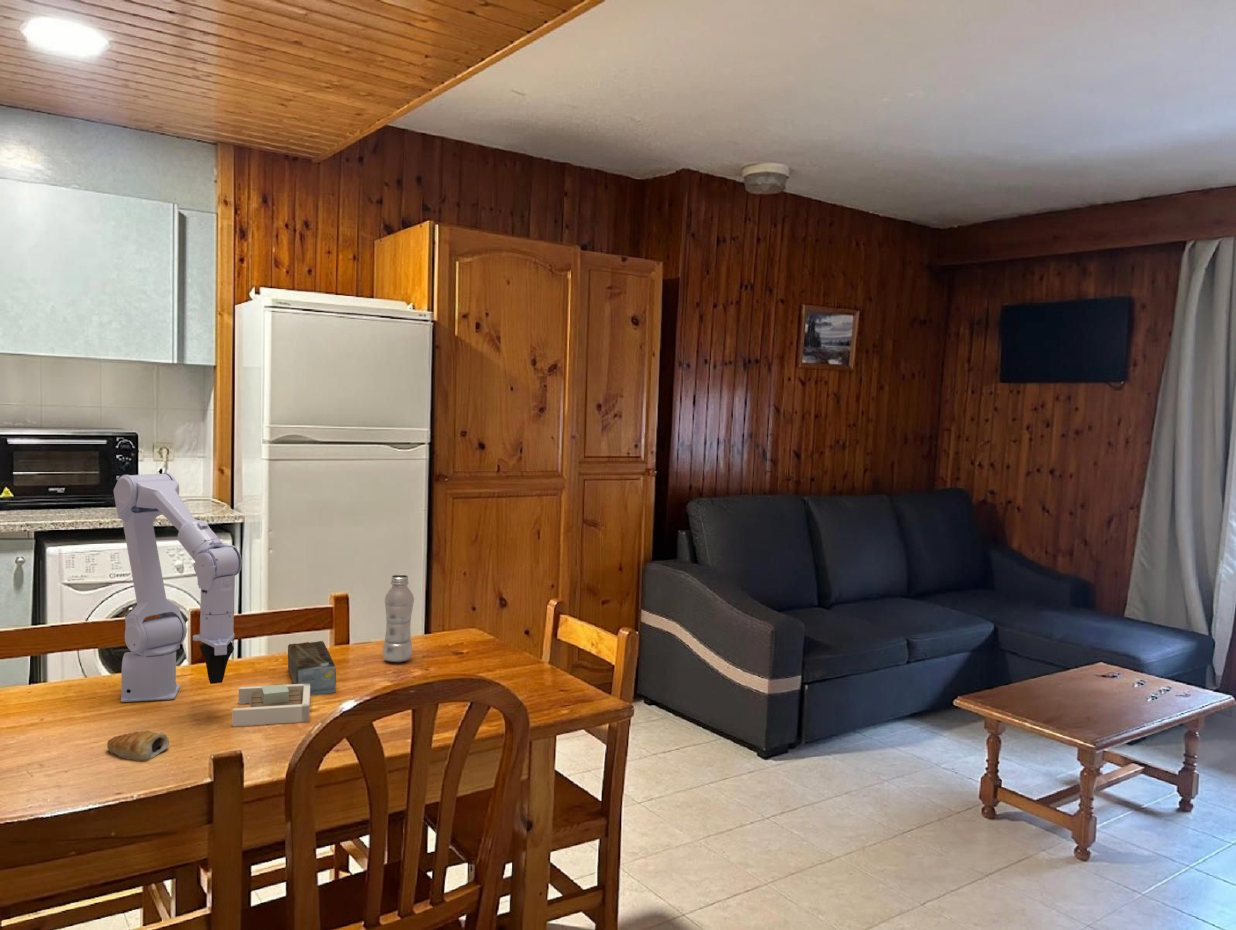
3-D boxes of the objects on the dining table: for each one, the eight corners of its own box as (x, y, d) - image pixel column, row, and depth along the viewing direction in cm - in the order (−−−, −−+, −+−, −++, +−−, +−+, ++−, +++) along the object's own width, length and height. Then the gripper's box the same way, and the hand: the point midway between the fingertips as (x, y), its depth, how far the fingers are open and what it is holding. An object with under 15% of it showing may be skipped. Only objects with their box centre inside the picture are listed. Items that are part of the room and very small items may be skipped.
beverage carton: (295, 698, 179) (296, 666, 179) (286, 670, 196) (286, 641, 196) (336, 694, 183) (337, 662, 182) (323, 667, 200) (324, 638, 199)
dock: (232, 726, 162) (232, 710, 162) (239, 702, 175) (239, 687, 175) (308, 721, 166) (309, 705, 166) (309, 697, 179) (310, 683, 179)
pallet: (249, 723, 166) (249, 708, 166) (251, 706, 174) (251, 692, 174) (300, 719, 169) (301, 705, 169) (300, 703, 177) (300, 689, 177)
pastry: (96, 757, 147) (96, 734, 147) (125, 742, 154) (125, 721, 153) (146, 763, 145) (146, 741, 145) (174, 748, 152) (174, 726, 152)
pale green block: (263, 704, 168) (263, 693, 168) (261, 696, 172) (261, 686, 172) (288, 701, 170) (288, 691, 170) (285, 694, 174) (286, 684, 174)
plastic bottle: (384, 657, 209) (386, 573, 207) (413, 657, 210) (416, 573, 208) (380, 665, 202) (382, 578, 201) (410, 665, 203) (413, 579, 202)
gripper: (190, 604, 170) (189, 673, 171) (196, 622, 158) (195, 697, 159) (230, 601, 174) (228, 669, 175) (239, 619, 161) (238, 692, 162)
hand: (215, 682), depth 167 cm, fingers closed
